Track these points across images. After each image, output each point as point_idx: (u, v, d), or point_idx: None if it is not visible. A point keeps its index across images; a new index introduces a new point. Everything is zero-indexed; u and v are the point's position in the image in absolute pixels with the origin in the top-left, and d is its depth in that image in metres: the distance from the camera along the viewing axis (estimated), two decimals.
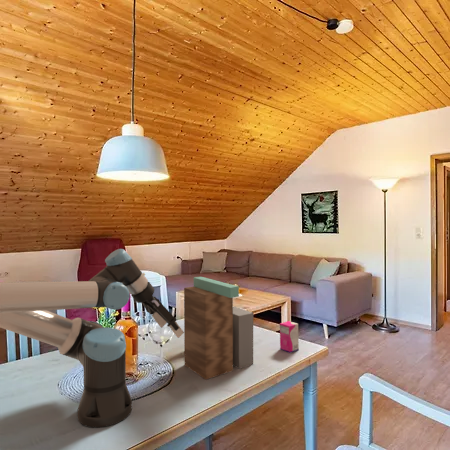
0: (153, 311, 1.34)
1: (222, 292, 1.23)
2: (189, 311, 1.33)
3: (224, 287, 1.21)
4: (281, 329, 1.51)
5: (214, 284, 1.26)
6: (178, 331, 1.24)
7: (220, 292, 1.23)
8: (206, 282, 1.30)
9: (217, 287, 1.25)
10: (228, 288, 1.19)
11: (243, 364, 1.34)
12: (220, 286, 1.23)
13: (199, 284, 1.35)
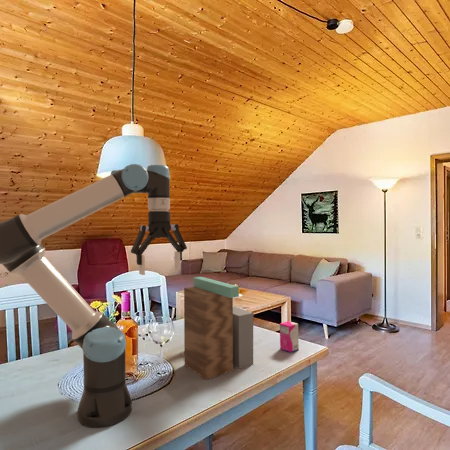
0: (178, 249, 1.26)
1: (222, 292, 1.23)
2: (189, 311, 1.33)
3: (224, 287, 1.21)
4: (281, 329, 1.51)
5: (214, 284, 1.26)
6: (140, 268, 1.18)
7: (220, 292, 1.23)
8: (206, 282, 1.30)
9: (217, 287, 1.25)
10: (228, 288, 1.19)
11: (243, 364, 1.34)
12: (220, 286, 1.23)
13: (199, 284, 1.35)
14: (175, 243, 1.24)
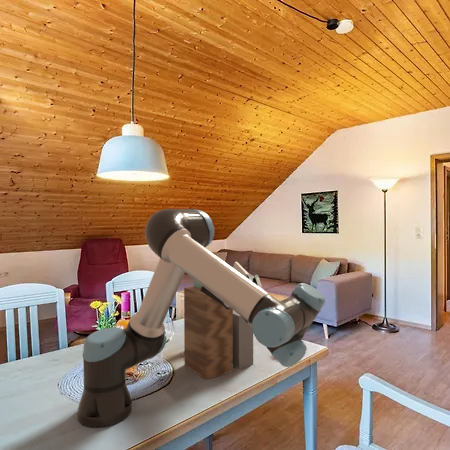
0: None
1: None
2: (189, 311, 1.33)
3: None
4: None
5: None
6: None
7: None
8: None
9: None
10: None
11: (243, 364, 1.34)
12: None
13: (199, 284, 1.35)
14: None
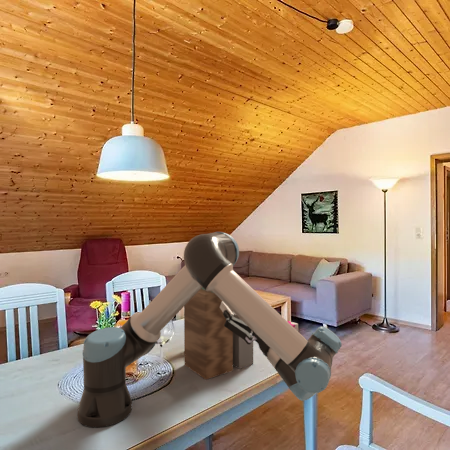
0: None
1: None
2: (189, 311, 1.33)
3: None
4: None
5: None
6: (223, 308, 1.13)
7: None
8: None
9: None
10: None
11: (243, 364, 1.34)
12: None
13: None
14: None
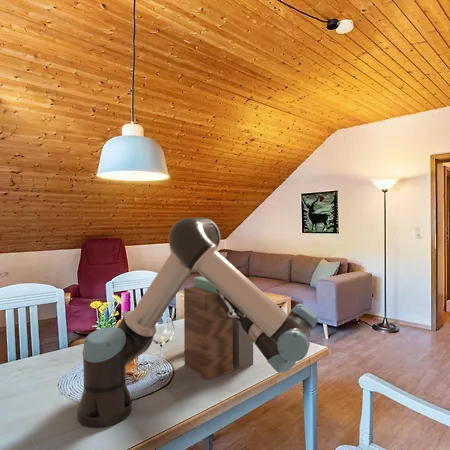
0: None
1: None
2: (189, 311, 1.33)
3: None
4: None
5: None
6: None
7: None
8: (206, 282, 1.30)
9: None
10: None
11: (243, 364, 1.34)
12: None
13: (199, 284, 1.35)
14: None
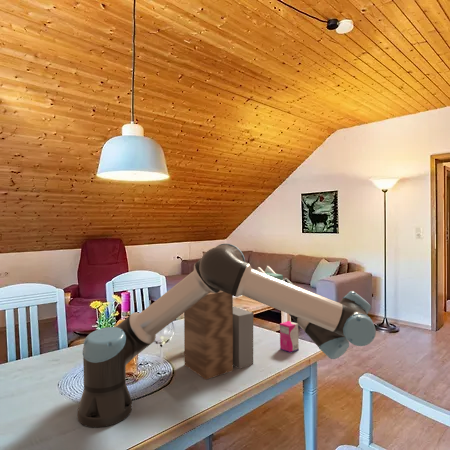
0: None
1: None
2: (189, 311, 1.33)
3: None
4: (281, 329, 1.51)
5: None
6: None
7: None
8: None
9: None
10: None
11: (243, 364, 1.34)
12: None
13: None
14: None
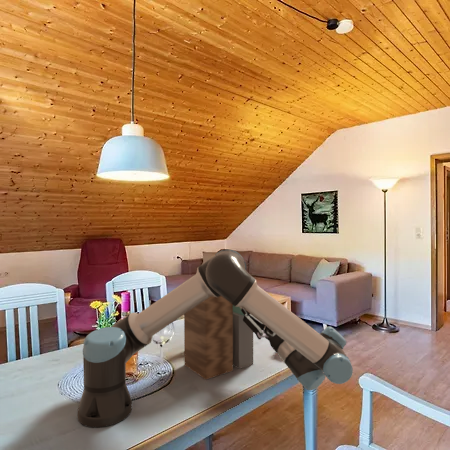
0: None
1: None
2: (189, 311, 1.33)
3: None
4: None
5: None
6: None
7: None
8: None
9: None
10: None
11: (243, 364, 1.34)
12: None
13: None
14: None
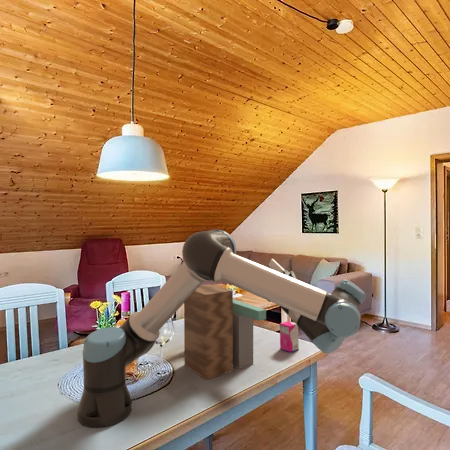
0: None
1: (249, 314, 1.30)
2: (189, 311, 1.33)
3: (252, 310, 1.29)
4: (281, 329, 1.51)
5: (241, 306, 1.34)
6: None
7: (248, 315, 1.31)
8: (233, 304, 1.38)
9: (245, 309, 1.32)
10: (256, 311, 1.27)
11: (243, 364, 1.34)
12: (248, 309, 1.31)
13: None
14: None
